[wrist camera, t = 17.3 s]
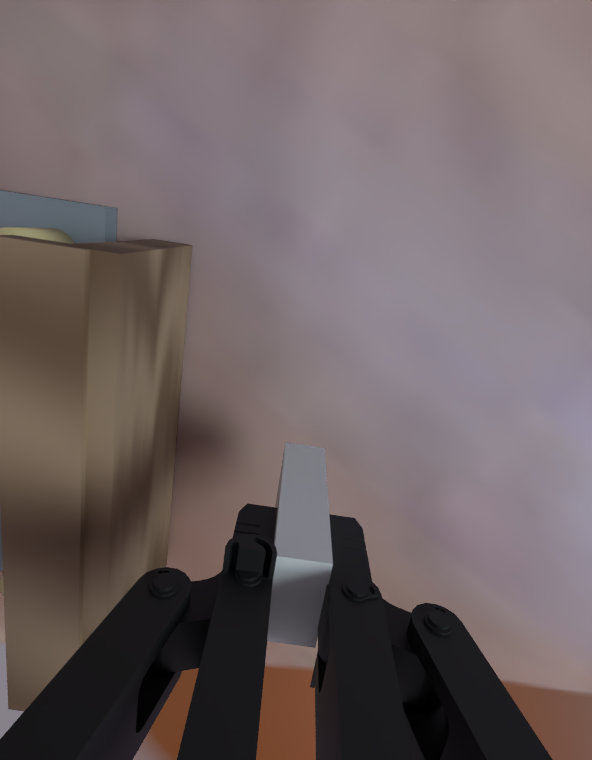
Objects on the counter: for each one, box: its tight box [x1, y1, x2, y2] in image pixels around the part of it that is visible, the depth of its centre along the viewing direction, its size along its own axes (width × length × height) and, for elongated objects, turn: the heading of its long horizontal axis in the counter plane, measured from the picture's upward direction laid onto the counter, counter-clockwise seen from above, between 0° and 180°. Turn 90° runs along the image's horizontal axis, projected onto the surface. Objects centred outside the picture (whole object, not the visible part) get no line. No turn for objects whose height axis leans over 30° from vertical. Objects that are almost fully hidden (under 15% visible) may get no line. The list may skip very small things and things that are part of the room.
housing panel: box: [0, 235, 192, 711], centre depth 18 cm, size 16×3×8 cm, turn 172°
